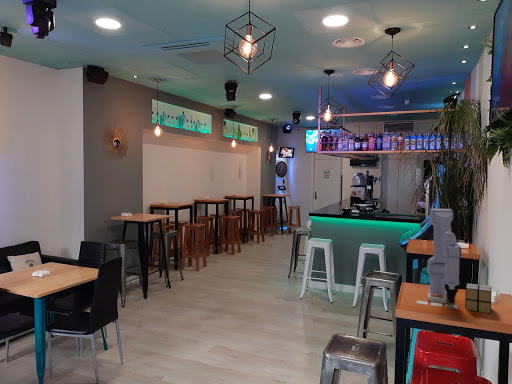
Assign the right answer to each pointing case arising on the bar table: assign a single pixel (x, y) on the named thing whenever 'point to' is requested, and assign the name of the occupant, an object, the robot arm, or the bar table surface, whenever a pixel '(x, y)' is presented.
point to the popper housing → (436, 298)
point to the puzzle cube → (478, 298)
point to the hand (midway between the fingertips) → (451, 301)
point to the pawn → (450, 303)
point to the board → (437, 304)
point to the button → (437, 295)
